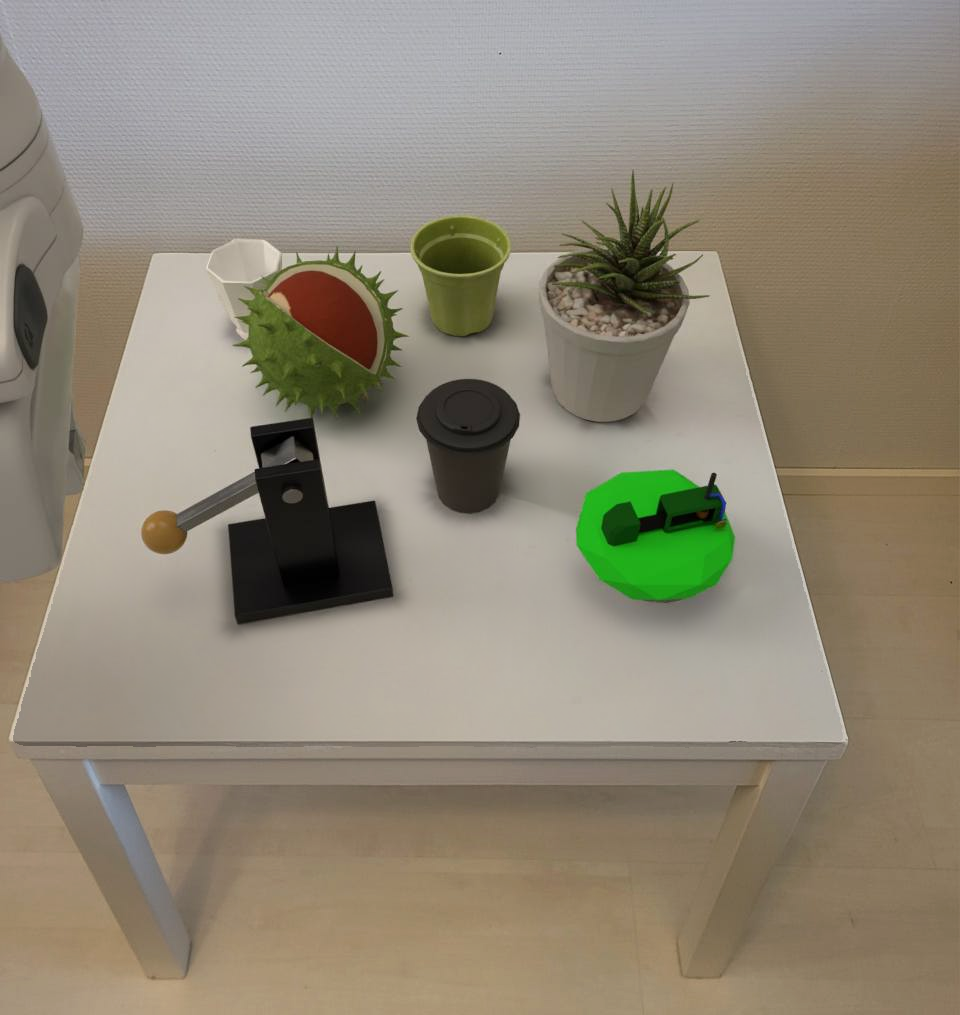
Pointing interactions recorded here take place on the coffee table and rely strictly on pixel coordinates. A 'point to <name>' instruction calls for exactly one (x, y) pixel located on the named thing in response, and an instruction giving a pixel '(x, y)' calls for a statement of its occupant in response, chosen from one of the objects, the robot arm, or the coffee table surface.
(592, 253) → the potted plant
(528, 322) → the coffee table surface
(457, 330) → the plant pot
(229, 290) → the cup
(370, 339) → the chestnut
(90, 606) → the coffee table surface
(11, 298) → the robot arm
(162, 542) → the tap lever
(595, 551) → the green rounded piece
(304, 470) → the black lever stand
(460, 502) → the coffee cup
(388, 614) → the coffee table surface
